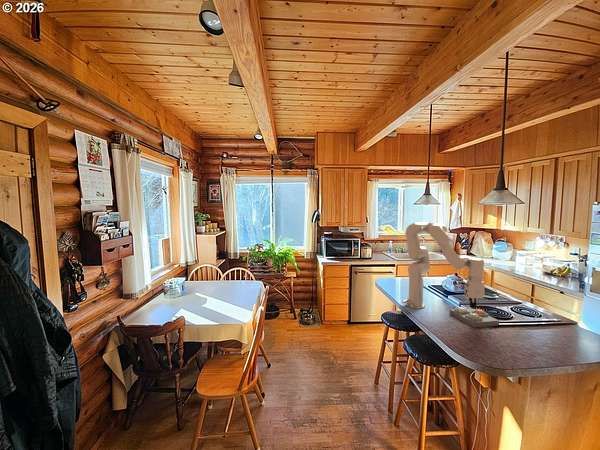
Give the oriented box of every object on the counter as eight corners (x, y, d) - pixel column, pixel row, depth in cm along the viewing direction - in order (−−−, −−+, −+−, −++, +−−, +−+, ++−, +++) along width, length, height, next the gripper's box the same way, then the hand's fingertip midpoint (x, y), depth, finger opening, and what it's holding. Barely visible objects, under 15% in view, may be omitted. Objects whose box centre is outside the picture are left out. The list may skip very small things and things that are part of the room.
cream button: (461, 313, 171) (461, 309, 171) (456, 310, 175) (456, 307, 175) (467, 313, 172) (467, 309, 171) (462, 310, 176) (462, 306, 176)
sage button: (473, 320, 161) (473, 316, 161) (467, 317, 165) (468, 313, 165) (480, 319, 162) (480, 315, 161) (474, 316, 166) (474, 312, 166)
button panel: (473, 327, 158) (473, 320, 158) (449, 314, 178) (450, 307, 178) (499, 325, 161) (499, 318, 160) (472, 312, 180) (473, 306, 180)
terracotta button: (479, 315, 167) (479, 312, 167) (473, 313, 172) (474, 309, 171) (485, 315, 168) (485, 311, 168) (480, 312, 172) (480, 309, 172)
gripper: (468, 280, 157) (466, 311, 159) (491, 280, 159) (488, 310, 161) (459, 277, 165) (457, 306, 166) (481, 276, 167) (478, 305, 169)
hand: (472, 308), depth 164 cm, fingers closed
